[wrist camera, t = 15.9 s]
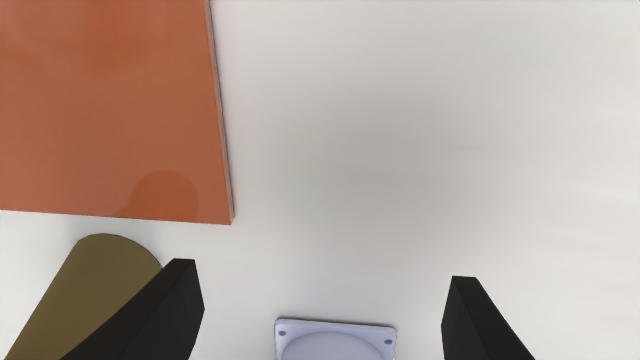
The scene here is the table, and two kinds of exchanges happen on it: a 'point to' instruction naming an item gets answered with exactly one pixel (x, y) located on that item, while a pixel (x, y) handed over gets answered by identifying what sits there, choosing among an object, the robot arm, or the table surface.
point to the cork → (84, 295)
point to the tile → (112, 110)
